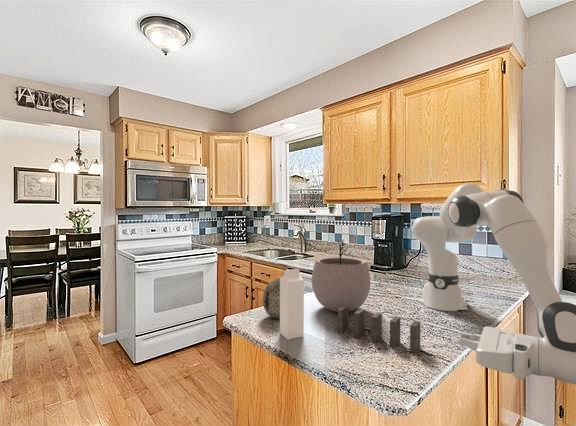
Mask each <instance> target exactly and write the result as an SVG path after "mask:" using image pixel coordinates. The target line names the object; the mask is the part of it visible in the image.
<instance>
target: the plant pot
mask: <svg viewBox="0 0 576 426" xmlns="http://www.w3.org/2000/svg"><path fill="white" fill-rule="evenodd" d="M341 240H342V242H340V241H339V240H338V239H337V237H336V241H337V243H338V244H339V256H337V255H335V256H323V257H317V258H316V259H315V261H314V265H313V269H312V274H311V286H312V291H313V293H314V296H315V298H316V300H317V301H318V302H319V304H320V305H321V306H323V307H324V308H326V309H327V310H329V311H332V312H336V313H338V309H339V308H341V307H343V306H344V305H345V306H349V312H353V311H355V310H357V309H358V308H360V307H362V305H363V304H364V303H365V302H366V300H367V298H368V296H369V294H370V288H371V276H370V271H369V265H368V262H367V260H366V259H364V258H359V257H352V256H344V255H343V254H344V252H346V251H347V249H348V248H345V249H344V246H345V245H346V243H345V242H344V239H343V238H342V239H341ZM343 249H344V250H343ZM342 250H343V251H342Z"/></svg>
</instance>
